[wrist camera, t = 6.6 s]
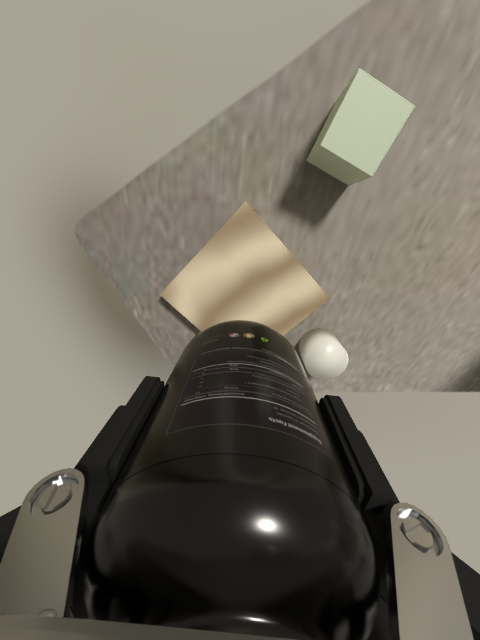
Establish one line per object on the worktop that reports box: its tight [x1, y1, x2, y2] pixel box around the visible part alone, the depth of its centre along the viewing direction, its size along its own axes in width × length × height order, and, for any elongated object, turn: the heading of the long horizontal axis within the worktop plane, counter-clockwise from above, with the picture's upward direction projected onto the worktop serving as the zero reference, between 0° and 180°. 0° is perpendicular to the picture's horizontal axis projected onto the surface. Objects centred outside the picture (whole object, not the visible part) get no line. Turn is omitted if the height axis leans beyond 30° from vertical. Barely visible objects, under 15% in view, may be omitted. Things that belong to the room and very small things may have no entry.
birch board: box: [160, 201, 330, 335], centre depth 27 cm, size 14×14×2 cm
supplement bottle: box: [83, 320, 380, 640], centre depth 8 cm, size 7×7×12 cm
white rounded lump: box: [298, 329, 349, 380], centre depth 29 cm, size 5×5×4 cm
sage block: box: [306, 68, 415, 186], centre depth 20 cm, size 5×5×5 cm
